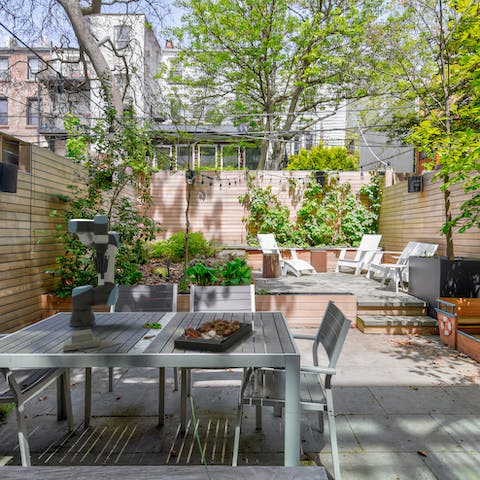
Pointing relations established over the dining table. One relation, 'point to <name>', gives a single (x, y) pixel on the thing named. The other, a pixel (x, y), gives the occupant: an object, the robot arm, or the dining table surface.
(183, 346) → the food platter
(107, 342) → the mat
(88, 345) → the digital clock
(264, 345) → the dining table surface
